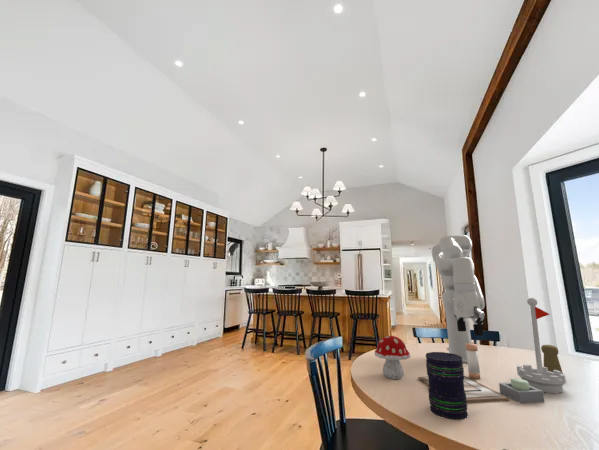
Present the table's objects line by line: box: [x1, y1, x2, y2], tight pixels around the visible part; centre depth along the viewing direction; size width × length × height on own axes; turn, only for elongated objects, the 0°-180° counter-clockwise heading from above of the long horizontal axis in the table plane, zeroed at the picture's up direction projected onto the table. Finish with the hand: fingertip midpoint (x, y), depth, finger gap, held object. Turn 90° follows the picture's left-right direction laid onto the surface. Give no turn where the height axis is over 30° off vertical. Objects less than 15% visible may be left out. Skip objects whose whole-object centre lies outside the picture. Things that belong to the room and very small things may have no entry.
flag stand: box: [516, 297, 567, 394], centre depth 103 cm, size 13×13×30 cm
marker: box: [465, 342, 482, 380], centre depth 112 cm, size 4×4×12 cm
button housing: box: [498, 382, 545, 404], centre depth 93 cm, size 8×8×3 cm
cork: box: [540, 344, 564, 374], centre depth 114 cm, size 6×6×11 cm
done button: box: [510, 378, 529, 391], centre depth 93 cm, size 5×5×4 cm
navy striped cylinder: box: [425, 351, 469, 421], centre depth 84 cm, size 10×10×15 cm
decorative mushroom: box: [374, 335, 412, 380], centre depth 114 cm, size 14×14×15 cm
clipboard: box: [417, 375, 510, 404], centre depth 100 cm, size 22×18×1 cm
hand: (470, 333), depth 113 cm, fingers open, 9 cm apart
